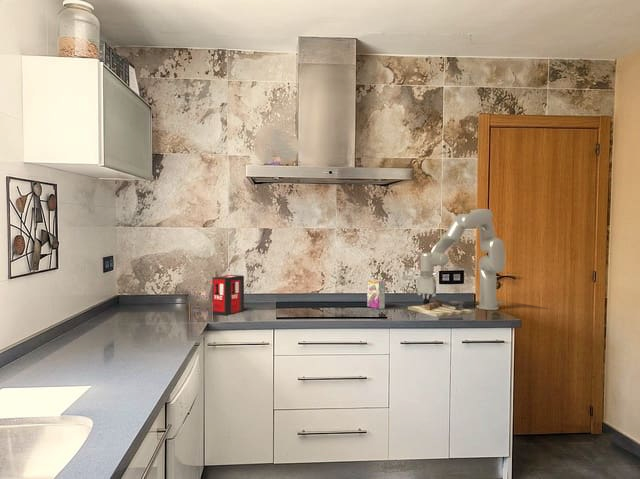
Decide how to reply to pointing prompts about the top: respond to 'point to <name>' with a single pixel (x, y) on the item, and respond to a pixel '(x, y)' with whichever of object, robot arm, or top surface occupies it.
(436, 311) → the birch board
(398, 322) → the top surface
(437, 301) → the walnut link
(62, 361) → the top surface
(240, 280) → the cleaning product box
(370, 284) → the candy bar box
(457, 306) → the block
